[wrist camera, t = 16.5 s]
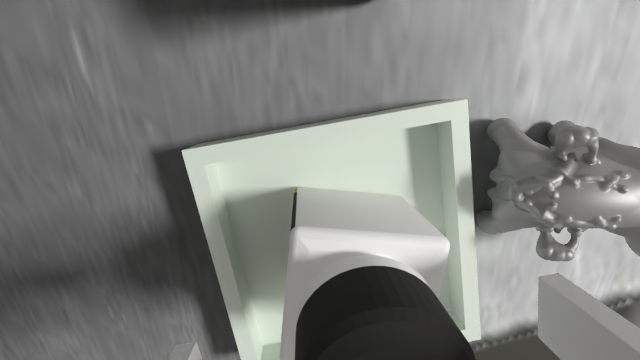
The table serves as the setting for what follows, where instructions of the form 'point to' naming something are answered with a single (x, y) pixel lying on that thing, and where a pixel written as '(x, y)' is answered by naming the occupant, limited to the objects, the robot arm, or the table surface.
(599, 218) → the elephant statuette
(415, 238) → the medicine bottle
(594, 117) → the table surface
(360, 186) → the tray
